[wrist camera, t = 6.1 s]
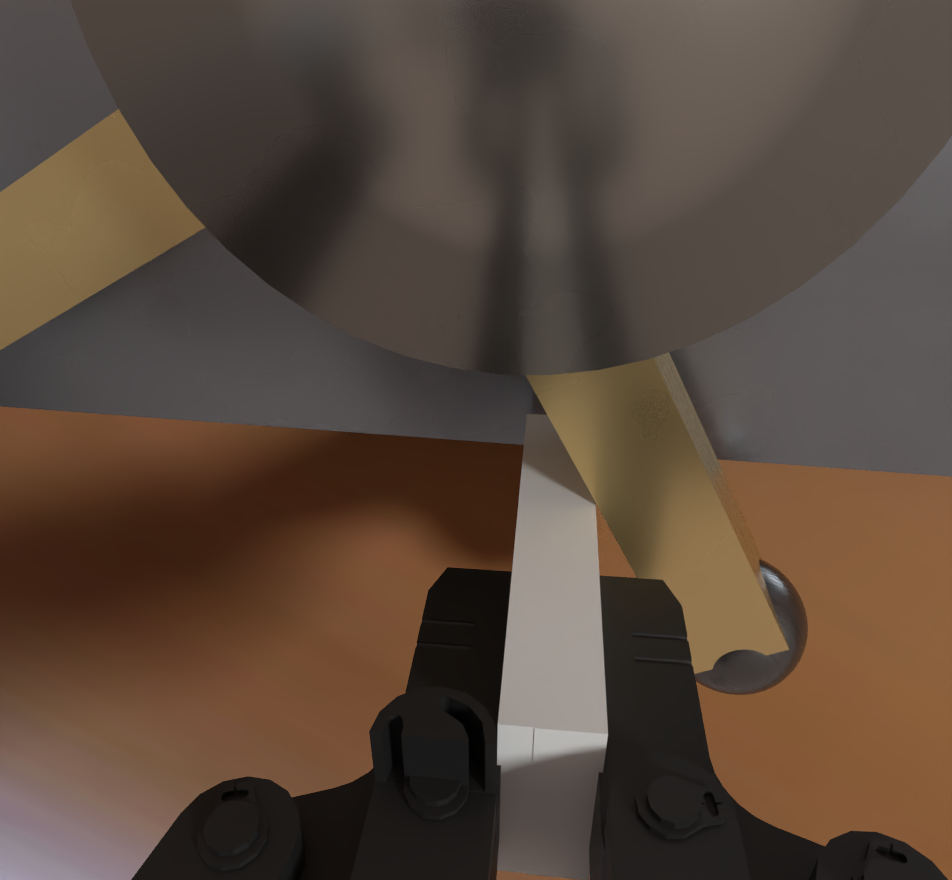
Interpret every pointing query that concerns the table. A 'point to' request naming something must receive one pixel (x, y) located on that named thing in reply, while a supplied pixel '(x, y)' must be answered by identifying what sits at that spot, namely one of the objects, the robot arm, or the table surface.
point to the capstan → (515, 211)
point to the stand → (458, 390)
